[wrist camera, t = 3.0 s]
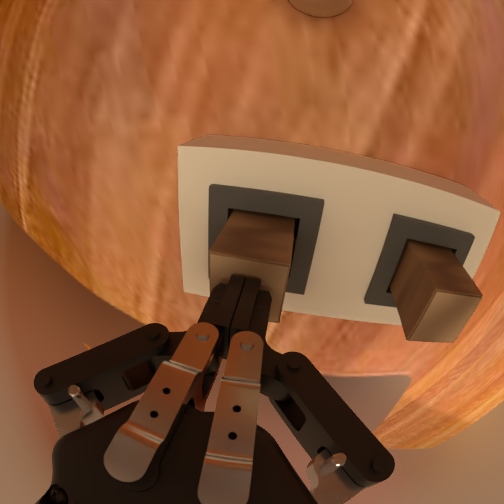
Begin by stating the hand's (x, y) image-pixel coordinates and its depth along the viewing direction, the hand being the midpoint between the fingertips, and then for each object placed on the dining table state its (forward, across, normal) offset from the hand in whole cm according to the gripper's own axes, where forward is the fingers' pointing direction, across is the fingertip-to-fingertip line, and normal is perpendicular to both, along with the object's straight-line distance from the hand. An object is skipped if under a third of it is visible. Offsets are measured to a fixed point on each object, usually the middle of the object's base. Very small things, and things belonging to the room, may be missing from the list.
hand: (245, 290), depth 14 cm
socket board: (+12, -6, 0) cm, 13 cm away
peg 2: (+6, -12, 0) cm, 14 cm away
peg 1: (+7, 0, 0) cm, 7 cm away
